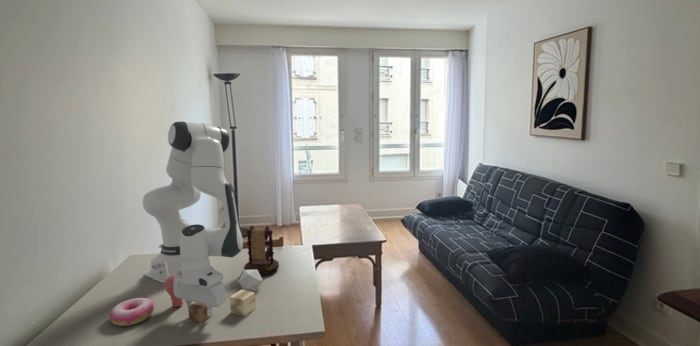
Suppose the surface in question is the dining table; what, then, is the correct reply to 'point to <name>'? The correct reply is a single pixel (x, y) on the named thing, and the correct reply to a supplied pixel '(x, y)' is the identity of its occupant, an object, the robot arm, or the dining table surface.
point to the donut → (131, 311)
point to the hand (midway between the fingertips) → (200, 313)
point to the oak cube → (242, 302)
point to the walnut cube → (197, 312)
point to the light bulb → (169, 289)
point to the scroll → (260, 251)
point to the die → (250, 280)
